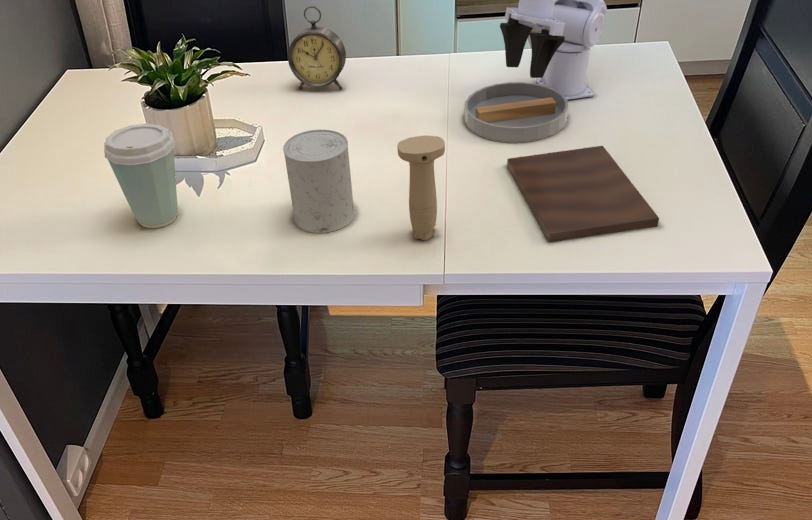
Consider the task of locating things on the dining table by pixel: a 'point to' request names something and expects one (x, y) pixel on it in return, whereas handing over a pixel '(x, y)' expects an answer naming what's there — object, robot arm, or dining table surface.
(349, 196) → the grey mottled cylinder
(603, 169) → the board
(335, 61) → the alarm clock
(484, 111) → the stick
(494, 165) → the dining table surface
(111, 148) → the disposable coffee cup
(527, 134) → the tin
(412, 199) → the handle
